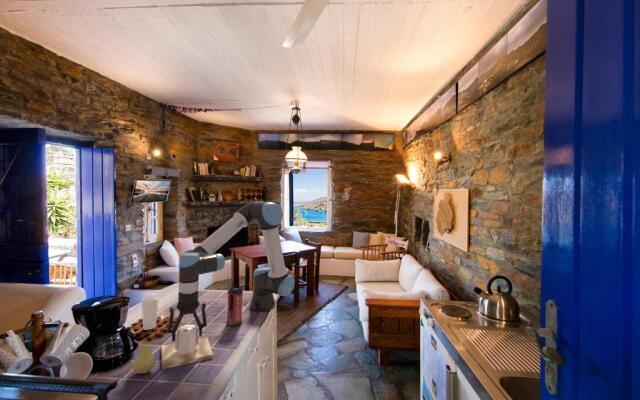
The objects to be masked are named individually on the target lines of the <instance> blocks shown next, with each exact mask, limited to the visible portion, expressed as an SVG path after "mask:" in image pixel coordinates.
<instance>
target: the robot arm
mask: <svg viewBox="0 0 640 400" xmlns="http://www.w3.org/2000/svg"><path fill="white" fill-rule="evenodd" d="M283 217H284V214H283V210H282V208H281V205H279V204H277V203H276V202H271V201H252V202H249V203H247V204H245V205H244V206H242V207H240V208H239V209H237V211H235V212H234V213H233V217H232V218H230V219H229V220H228V221H226V222H225V223H223V224H222V226H220V227H218V229H217V230H215V231H214V232H213V233H212V234H211V235H209V236H208V237H207V238H206V239H205V240H203V241H202V242H201V243H200V244H198V245H196V247H194V248H193V249H187V250H185V251H183V253H182V254H181V255H180V256H179V262H178V296H177V304H176V305H174V306H170V307H169V319H168V323H167V327H166V329H167V331H166V333H167V334H171V341H172V342H174V343H175V350H177V338H178V333H177V332H178V328H179V327H180V324H181V322H182V319H183V317H184V315H185V316H187V315H192V316H193V317H194V319H195V322H196V324H197V345H199V338H200V337H203V328H205V327H207V325H208V324H207V323H208V321H207V315H206V306H207V304H206V302H205V301H202V302H199V284H200V283H199V280H200V275H204V274H205V275H206V274H209V273H210V274H211V273H214V272H215V273H216V272H218V271H222V270H223V269H224V268H225V265H226V259H225V257H224V255H223V254H221V253H216V252H217V250H219V249H220V248H221V247H222V246H223V245H224V244H226V243H227V242H228V241H229V240H230V239H231V238H232V237H233V236H235V235H236V234H237V233H238V232H240V230H242V228H246V227H248V226H249V225H250V224H257V226H258V228H257V229H258V230H259V231H260V232H261V233H262V236H263V237H262V238H263V242H264V247H265V248H264V249H265V252H266V258H267V262H268V266H266V267H265V266H263V267H258V268H256V269H254V271H253V275H252V276H253V277H252V285H253V286H252V296H251V298H250V302H249V309H250V310H252V311H254V312H269V311H272V310H274V309H275V308H276V300H275V297H274V296H275V295H278V296H283V297H287V296H288V295H290V294H291V293H292V291H293V289H294V287H295V282H296V281H295V278H294V276H293V275H291V274H290V271H289V268H288V267H286V265H285V264H286V263H285V259H284V253H283V248H282V244H281V243H282V242H281V238H280V232H279V227H280V226H281V223H282V221H283ZM198 307H199V308H200V309H201V310H200V311H201V317H202V322H201V320H200V318H199V316H198V314H197V311H196V310H197V309H198ZM177 310H178V312H179V313H178V316H177V318H176V321H175V322H174V325H173V321H174V317H175V316H174V315H175V313H176V311H177Z"/></svg>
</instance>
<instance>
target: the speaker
mask: <svg viewBox="0 0 640 400" xmlns="http://www.w3.org/2000/svg"><path fill="white" fill-rule="evenodd" d="M243 292H244V289H243V288H242V287H239V286H235V287H234V286H233V287H231V288H229V289H228V290H227V311H226V313H227V315H226V316H227V319H226V325H227V326H229V327H238V326H241V325H242V324H243V320H242V318H243ZM240 324H241V325H240Z"/></svg>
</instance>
